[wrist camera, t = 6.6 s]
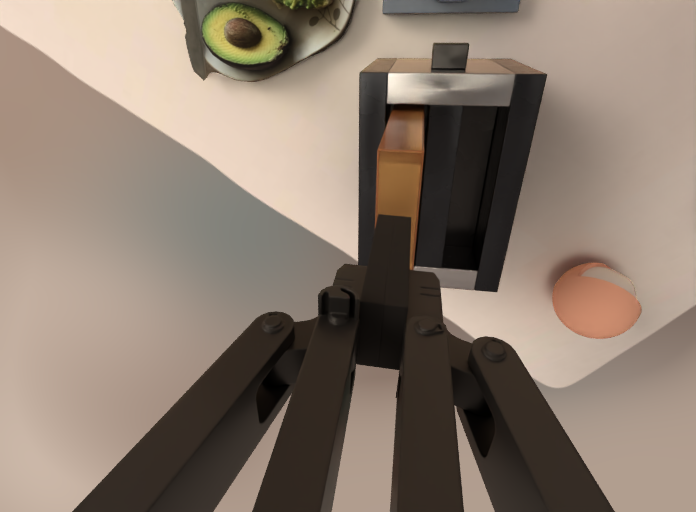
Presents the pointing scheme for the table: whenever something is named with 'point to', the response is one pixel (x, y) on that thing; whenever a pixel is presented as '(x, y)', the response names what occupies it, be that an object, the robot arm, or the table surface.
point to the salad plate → (259, 34)
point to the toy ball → (596, 301)
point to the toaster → (454, 156)
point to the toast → (401, 167)
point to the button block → (449, 6)
